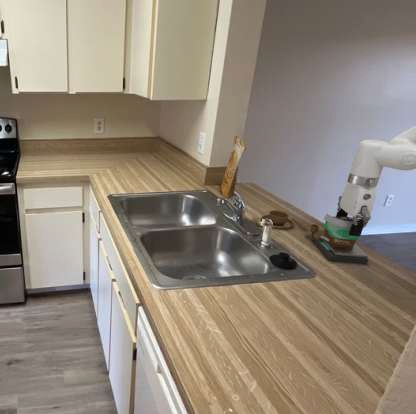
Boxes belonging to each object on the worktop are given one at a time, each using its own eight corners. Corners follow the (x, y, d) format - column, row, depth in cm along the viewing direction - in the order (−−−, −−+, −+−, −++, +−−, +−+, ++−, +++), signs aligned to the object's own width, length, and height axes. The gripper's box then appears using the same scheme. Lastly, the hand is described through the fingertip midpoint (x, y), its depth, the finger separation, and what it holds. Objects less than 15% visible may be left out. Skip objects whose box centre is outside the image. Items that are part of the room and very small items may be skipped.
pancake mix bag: (233, 187, 176) (242, 135, 165) (237, 200, 159) (247, 143, 148) (219, 186, 178) (227, 134, 167) (222, 199, 161) (231, 142, 150)
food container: (324, 247, 112) (332, 220, 108) (317, 238, 117) (325, 213, 113) (366, 251, 109) (376, 224, 105) (357, 242, 114) (366, 216, 110)
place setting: (291, 218, 141) (294, 205, 139) (318, 241, 123) (322, 227, 120) (249, 218, 141) (252, 205, 139) (270, 241, 123) (274, 226, 121)
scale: (346, 246, 119) (348, 239, 118) (366, 266, 108) (368, 258, 107) (312, 243, 121) (314, 236, 120) (328, 262, 110) (331, 255, 108)
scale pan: (348, 240, 118) (349, 238, 118) (367, 257, 107) (368, 255, 107) (319, 237, 119) (319, 235, 119) (334, 255, 109) (335, 253, 108)
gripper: (393, 190, 95) (374, 242, 102) (361, 172, 111) (346, 218, 118) (364, 188, 97) (347, 240, 103) (336, 171, 112) (322, 217, 119)
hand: (346, 228), depth 111 cm, fingers open, 9 cm apart
